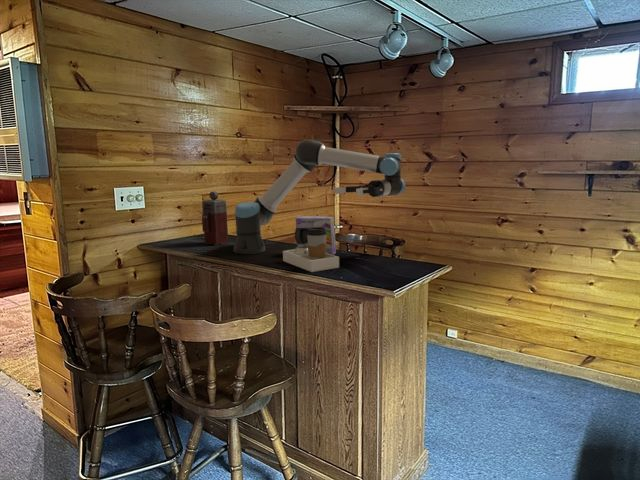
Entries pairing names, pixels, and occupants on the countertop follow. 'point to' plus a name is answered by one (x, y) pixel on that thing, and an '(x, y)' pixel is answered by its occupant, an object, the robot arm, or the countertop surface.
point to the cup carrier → (311, 261)
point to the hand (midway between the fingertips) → (345, 191)
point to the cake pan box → (315, 221)
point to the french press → (214, 220)
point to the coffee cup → (316, 243)
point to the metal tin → (301, 250)
